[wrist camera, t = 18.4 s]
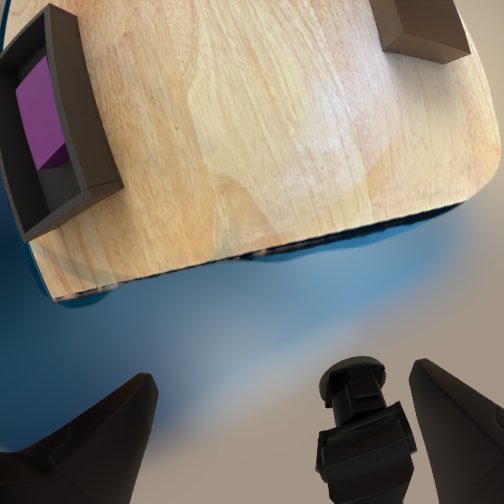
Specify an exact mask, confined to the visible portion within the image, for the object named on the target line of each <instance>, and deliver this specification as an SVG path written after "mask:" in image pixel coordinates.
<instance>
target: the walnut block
mask: <svg viewBox="0 0 504 504" xmlns="http://www.w3.org/2000/svg"><path fill="white" fill-rule="evenodd" d="M369 1H370V4H371V7H372V11H373V14H374V18H375V21H376V25H377V29H378V33H379V37H380V41H381V46H382V50H383V51H386V52H392V53H398V54H403V55H408V56H413V57H418V58H422V59H426V60H430V61H434V62H438V63H441V64H447V63H449V62H451V61H454V60H456V59H459V58H461V57H464V56H466V55H469V54H471V52H470V48H469V45H468V41H467V38H466V35H465V32H464V29H463V26H462V23H461V20H460V17H459V14H458V12H457V9H456V7H455V4H454V2H453V0H369Z"/></svg>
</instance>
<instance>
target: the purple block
mask: <svg viewBox="0 0 504 504" xmlns="http://www.w3.org/2000/svg"><path fill="white" fill-rule="evenodd" d="M16 95H17V100H18V105H19V110H20V114H21V118H22V122H23V126H24V130H25V133H26V137H27V140H28V144H29V147H30V150H31V153H32V156H33V159H34V162H35V165H36V168H37V171H40V170H45V169H51V168H56V167H61V166H62V165H63V164H64V163H65V162H66V161H67V160H68V159H69V158H70V156H69V153H68V150H67V146H66V143H65V139H64V136H63V132H62V128H61V124H60V120H59V116H58V112H57V108H56V103H55V98H54V93H53V88H52V83H51V77H50V71H49V64H48V56H45V57H44V58H43V59H42V60H41V61H40V62H39V63H38V64H37V65H36V66H35V67H34V69H33V70H32V71H31V72H30V73H29V74H28V76H27V77H26V78H25V79H24V80H23V82H22V83H21V84H20V85H19V87H18V88H17V89H16Z"/></svg>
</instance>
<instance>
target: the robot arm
mask: <svg viewBox="0 0 504 504" xmlns="http://www.w3.org/2000/svg"><path fill="white" fill-rule="evenodd" d="M380 368H381V369H380ZM384 371H385V366H384V365H383V364H379V365H372V366H366V367H359V368H351V369H343V370H334V371H331V372H330V373H329V376H328V384H327V391H326V398H325V408H333V412H334V418H335V424H336V427H335V428H332V429H329V430H326V431H325V430H324V431H320V432H319V438H318V447H317V460H316V468H315V470H316V472H318V473H320V475H321V478H322V480H323V481H324V482H325V483H328V488H329V497H330V499H331V500H332V502H333V503H334V504H404V501H403V499H404V497H405V494H406V491H407V489H408V486H409V483H410V480H411V477H412V474H413V471H414V466H413V462H412V459H411V454H413V453H415V452H417V448H416V443H415V440H414V437H413V434H412V431H411V428H410V425H409V422H408V420H407V418H406V415H405V413H404V411H403V408H402V406H401V404H400V401H398V402H396V403H395V404H393V405H391V406H389V407H387V405H386V402H385V400H384V397H383V394H382V391H381V388H380V385H381V381H382V378H383V375H384ZM409 385H410V389H411V393H412V397H413V402H414V407H415V412H416V416H417V420H418V423H419V427H420V430H421V433H422V436H423V439H424V443H425V446H426V450H427V453H428V457H429V460H430V465H431V469H432V473H433V477H434V481H435V485H436V489H437V494H438V499H439V504H504V409H503V408H502V407H500V406H499V405H497V404H495V403H494V402H493V401H491V400H490V399H488V398H486V397H485V396H483V395H482V394H480V393H479V392H477V391H476V390H474V389H473V388H471V387H470V386H468V385H467V384H465V383H463V382H462V381H461V380H459V379H458V378H456V377H454V376H453V375H451V374H450V373H448V372H447V371H445V370H444V369H442V368H440V367H439V366H438V365H436V364H434V363H433V362H431V361H430V360H428V359H426V358H424V359H420V360H416V361H415V362H414V365H413V368H412V371H411V373H410V376H409ZM158 394H159V392H158V388H157V386H156V383H155V381H154V379H153V377H152V375H151V374H149V373H142V372H141V373H138V374H137V375H136V376H134V377H133V378H131V379H130V380H129V381H127V382H126V383H125V384H123V385H122V386H120V387H119V388H118V389H116V390H115V391H113V392H112V393H111V394H109V395H108V396H106V397H105V398H104V399H102V400H101V401H99V402H98V403H97V404H95V405H94V406H92V407H91V408H89V409H88V410H87V411H85V412H84V413H82V414H81V415H79V416H78V417H76V418H75V419H73V420H72V421H71V422H70V423H67V424H66V425H65V426H63V427H62V428H60V429H58V430H57V431H55V432H54V433H52V434H50V435H49V436H47V437H45V438H43V439H41V440H39V441H37V442H35V443H33V444H31V445H29V446H28V447H26V448H23V449H21V450H19V451H16V452H0V504H129V503H130V500H131V496H132V493H133V489H134V486H135V482H136V479H137V476H138V472H139V469H140V466H141V462H142V459H143V456H144V452H145V449H146V446H147V443H148V440H149V436H150V433H151V430H152V425H153V420H154V414H155V410H156V405H157V399H158Z"/></svg>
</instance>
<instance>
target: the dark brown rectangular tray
mask: <svg viewBox="0 0 504 504" xmlns="http://www.w3.org/2000/svg"><path fill="white" fill-rule="evenodd" d="M45 56H48V64H49V71H50V77H51V83H52V88H53V93H54V98H55V103H56V108H57V112H58V116H59V120H60V124H61V128H62V132H63V136H64V139H65V143H66V146H67V150H68V153H69V156H70V158H69V159H68V160H67V161H66V162H65V163H64V164H63V165H62V166H61V167H56V168H51V169H45V170H40V171H37V168H36V165H35V162H34V159H33V156H32V153H31V150H30V147H29V144H28V140H27V137H26V133H25V130H24V126H23V122H22V118H21V114H20V110H19V105H18V100H17V95H16V89H17V88H18V87H19V85H20V84H21V83H22V82H23V80H24V79H25V78H26V77H27V76H28V74H29V73H30V72H31V71H32V70H33V69H34V67H35V66H36V65H37V64H38V63H39V62H40V61H41V60H42V59H43V58H44V57H45ZM0 169H1V173H2V177H3V181H4V185H5V189H6V192H7V196H8V199H9V202H10V206H11V209H12V212H13V215H14V218H15V221H16V224H17V226H18V229H19V232H20V234H21V236H22V239H23V242H24V244H25V243H27V242H29V241H31V240H33V239H35V238H37V237H39V236H41V235H43V234H46V233H48V232H50V231H52V230H54V229H56V228H57V227H59V226H61V225H62V224H64V223H65V222H67V221H68V220H70V219H71V218H73V217H74V216H76V215H78V214H79V213H81V212H83V211H84V210H86V209H87V208H89V207H91V206H92V205H94V204H96V203H98V202H99V201H101V200H103V199H104V198H106V197H108V196H110V195H112V194H113V193H115V192H117V191H119V190H121V189H122V188H124V186H123V183H122V180H121V178H120V175H119V172H118V170H117V167H116V164H115V161H114V158H113V156H112V153H111V150H110V147H109V144H108V141H107V138H106V135H105V132H104V129H103V125H102V122H101V119H100V116H99V112H98V109H97V106H96V102H95V98H94V95H93V91H92V87H91V83H90V80H89V76H88V71H87V67H86V63H85V58H84V54H83V49H82V44H81V39H80V34H79V28H78V22H77V16H75V15H73V14H71V13H69V12H67V11H65V10H63V9H61V8H59V7H57V6H55V5H52V4H50V3H49V4H48V5H47V6H45V7H44V8H43V9H42V10H41V11H40V12H39V13H38V14H37V15H36V16H35V17H34V18H33V19H32V20H31V21H30V22H29V23H28V24H27V25H26V26H25V27H24V28H23V29H22V30H21V31H20V32H19V33H18V34H17V35H16V37H15V38H14V39H13V40H12V41H11V42H10V43H9V44H8V46H7V47H6V48H5V49H4V50H3V52H2V53H1V54H0Z"/></svg>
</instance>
